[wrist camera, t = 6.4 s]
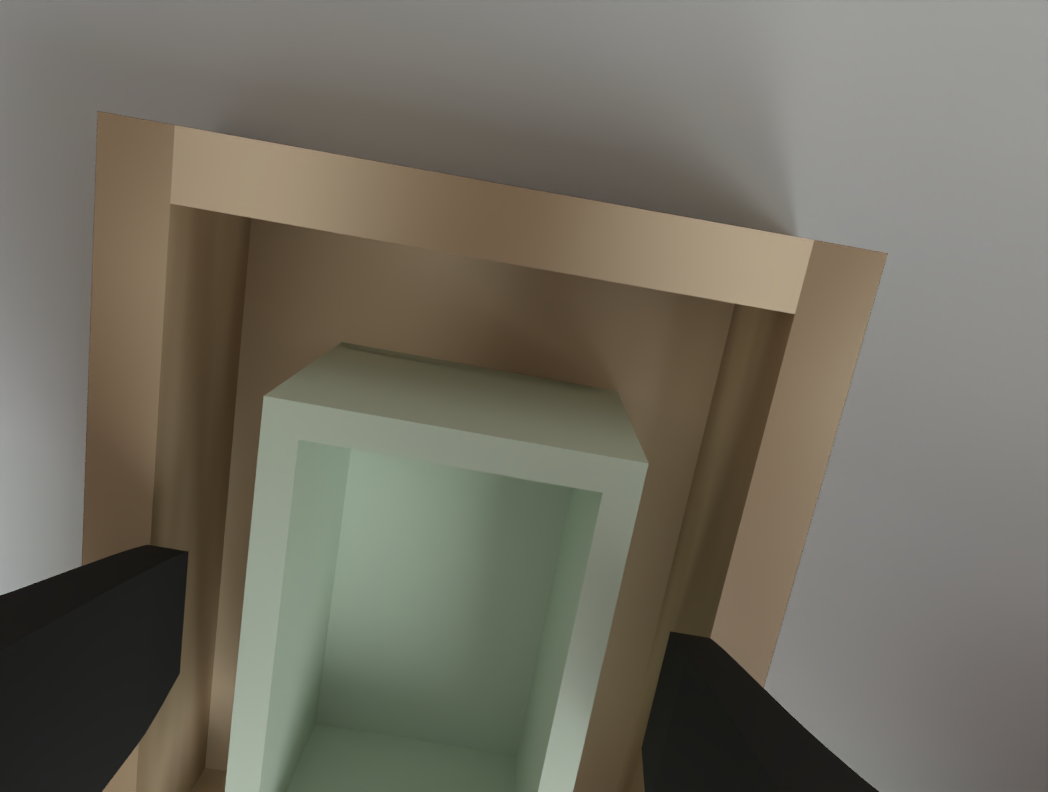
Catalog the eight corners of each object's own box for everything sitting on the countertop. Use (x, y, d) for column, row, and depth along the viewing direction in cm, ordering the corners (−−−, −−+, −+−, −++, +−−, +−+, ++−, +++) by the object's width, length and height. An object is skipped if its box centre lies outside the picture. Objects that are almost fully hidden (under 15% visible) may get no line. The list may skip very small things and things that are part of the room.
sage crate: (617, 391, 14) (648, 463, 10) (537, 763, 16) (536, 947, 12) (341, 341, 14) (263, 396, 10) (295, 723, 15) (214, 897, 12)
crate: (799, 242, 13) (887, 253, 10) (640, 857, 17) (667, 1023, 13) (210, 136, 13) (97, 111, 10) (165, 782, 16) (68, 932, 13)
